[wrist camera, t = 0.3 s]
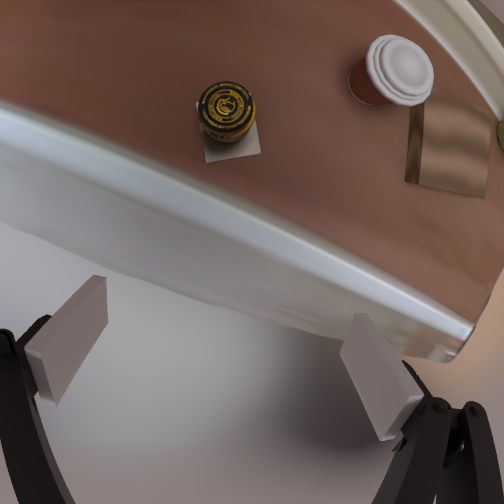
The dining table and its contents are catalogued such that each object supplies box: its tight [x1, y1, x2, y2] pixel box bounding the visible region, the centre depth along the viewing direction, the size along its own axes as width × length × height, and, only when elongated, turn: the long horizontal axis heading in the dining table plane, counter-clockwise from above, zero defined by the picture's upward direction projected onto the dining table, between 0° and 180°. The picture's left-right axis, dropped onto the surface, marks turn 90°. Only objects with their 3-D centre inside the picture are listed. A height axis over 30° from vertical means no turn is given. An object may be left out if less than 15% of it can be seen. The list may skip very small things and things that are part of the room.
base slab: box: [405, 87, 490, 199], centre depth 37 cm, size 15×15×4 cm
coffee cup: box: [347, 35, 434, 106], centre depth 30 cm, size 9×9×12 cm
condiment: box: [196, 81, 261, 163], centre depth 31 cm, size 7×8×12 cm
